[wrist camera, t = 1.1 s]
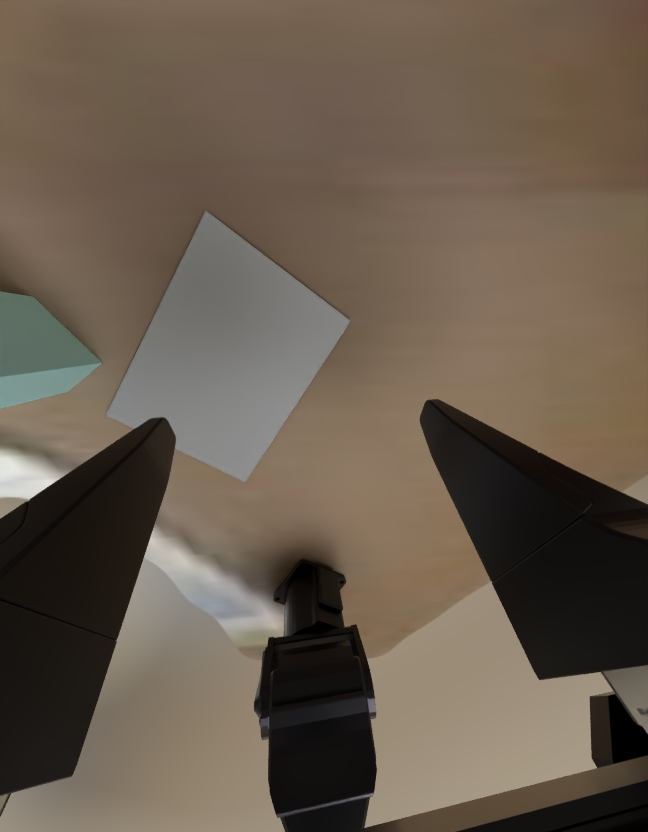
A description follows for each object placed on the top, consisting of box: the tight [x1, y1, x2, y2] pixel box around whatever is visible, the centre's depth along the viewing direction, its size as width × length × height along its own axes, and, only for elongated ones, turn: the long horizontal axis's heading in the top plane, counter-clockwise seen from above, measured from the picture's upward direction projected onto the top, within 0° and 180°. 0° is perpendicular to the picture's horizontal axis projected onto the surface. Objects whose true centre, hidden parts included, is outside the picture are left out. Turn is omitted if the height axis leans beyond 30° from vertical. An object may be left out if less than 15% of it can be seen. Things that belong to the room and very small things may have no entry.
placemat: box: [106, 211, 350, 482], centre depth 21 cm, size 18×13×1 cm
